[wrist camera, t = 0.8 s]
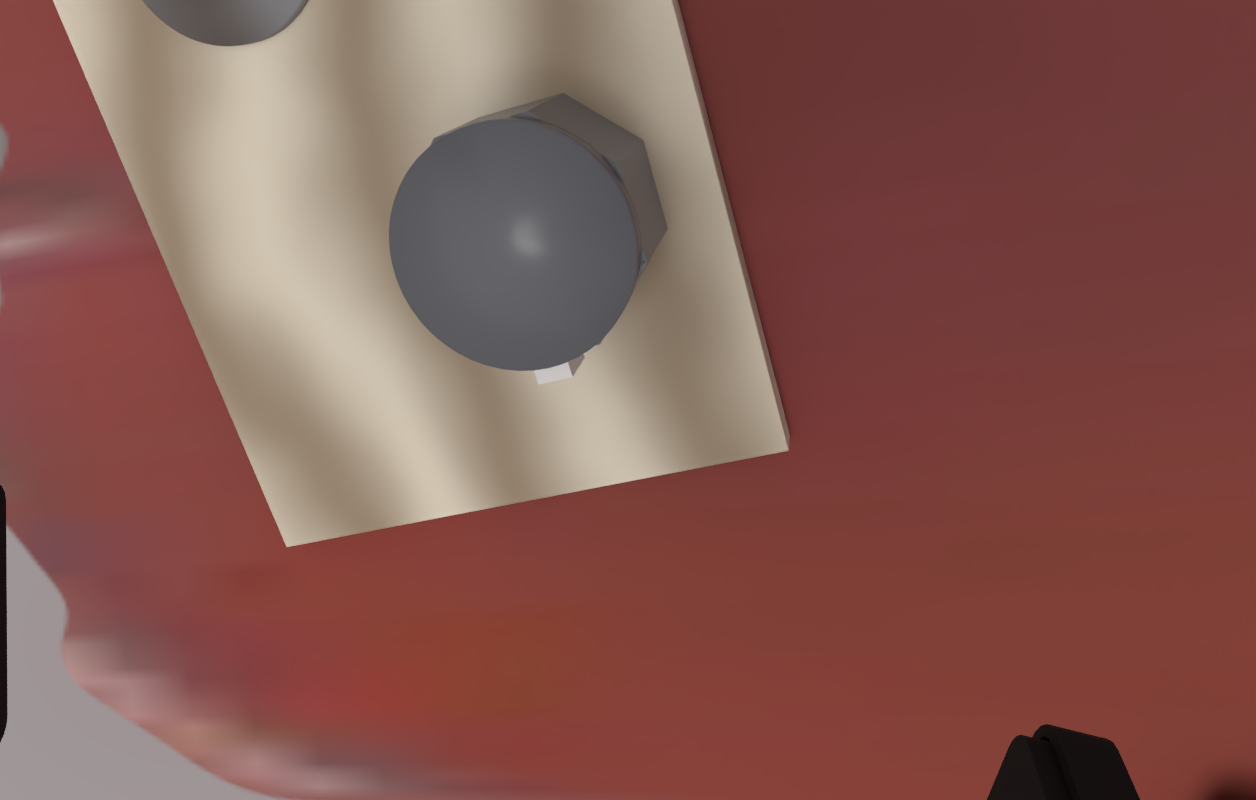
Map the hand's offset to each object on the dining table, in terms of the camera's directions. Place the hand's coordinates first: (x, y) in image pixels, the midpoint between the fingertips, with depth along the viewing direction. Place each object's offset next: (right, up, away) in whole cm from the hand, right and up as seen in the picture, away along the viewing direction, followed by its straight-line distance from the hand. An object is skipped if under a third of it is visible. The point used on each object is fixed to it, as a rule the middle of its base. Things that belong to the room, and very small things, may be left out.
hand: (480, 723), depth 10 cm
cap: (-1, +8, +23) cm, 25 cm away
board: (-6, +12, +24) cm, 27 cm away
